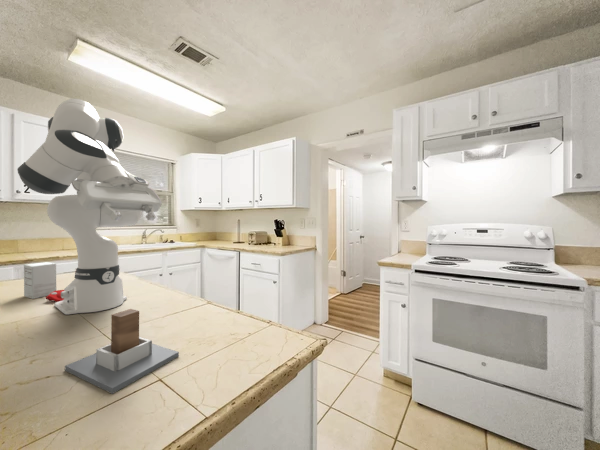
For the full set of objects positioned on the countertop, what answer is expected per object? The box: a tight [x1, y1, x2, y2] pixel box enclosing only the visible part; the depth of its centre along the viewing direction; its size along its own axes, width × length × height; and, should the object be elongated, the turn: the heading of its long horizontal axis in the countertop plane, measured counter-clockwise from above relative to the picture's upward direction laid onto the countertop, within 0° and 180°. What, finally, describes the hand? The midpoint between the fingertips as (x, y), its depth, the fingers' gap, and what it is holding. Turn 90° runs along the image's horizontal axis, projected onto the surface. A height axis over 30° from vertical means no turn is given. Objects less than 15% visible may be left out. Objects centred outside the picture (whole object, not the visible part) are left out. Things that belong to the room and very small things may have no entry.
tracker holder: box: [45, 289, 64, 303], centre depth 98 cm, size 12×4×10 cm
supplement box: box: [23, 261, 57, 300], centre depth 101 cm, size 7×7×13 cm
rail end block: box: [110, 308, 140, 355], centre depth 55 cm, size 3×4×10 cm
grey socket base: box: [64, 336, 180, 394], centre depth 55 cm, size 16×14×4 cm
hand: (135, 218), depth 69 cm, fingers open, 8 cm apart
